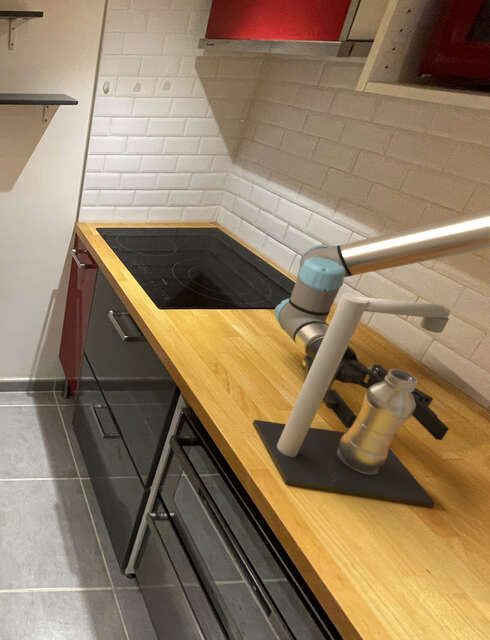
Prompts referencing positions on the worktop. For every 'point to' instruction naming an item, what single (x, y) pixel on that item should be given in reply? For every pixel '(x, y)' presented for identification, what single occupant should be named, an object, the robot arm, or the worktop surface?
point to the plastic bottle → (379, 420)
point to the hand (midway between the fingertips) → (396, 428)
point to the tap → (323, 445)
